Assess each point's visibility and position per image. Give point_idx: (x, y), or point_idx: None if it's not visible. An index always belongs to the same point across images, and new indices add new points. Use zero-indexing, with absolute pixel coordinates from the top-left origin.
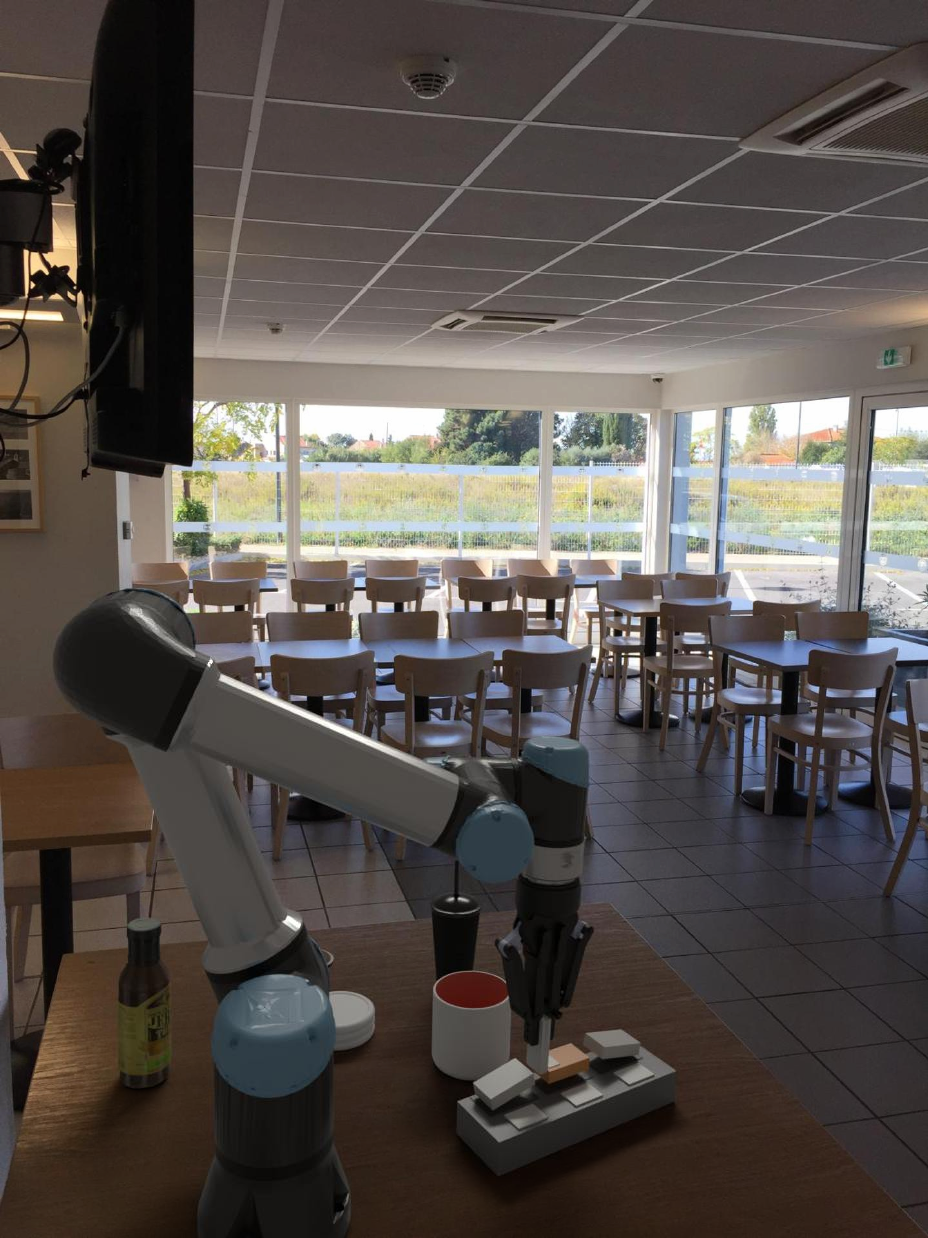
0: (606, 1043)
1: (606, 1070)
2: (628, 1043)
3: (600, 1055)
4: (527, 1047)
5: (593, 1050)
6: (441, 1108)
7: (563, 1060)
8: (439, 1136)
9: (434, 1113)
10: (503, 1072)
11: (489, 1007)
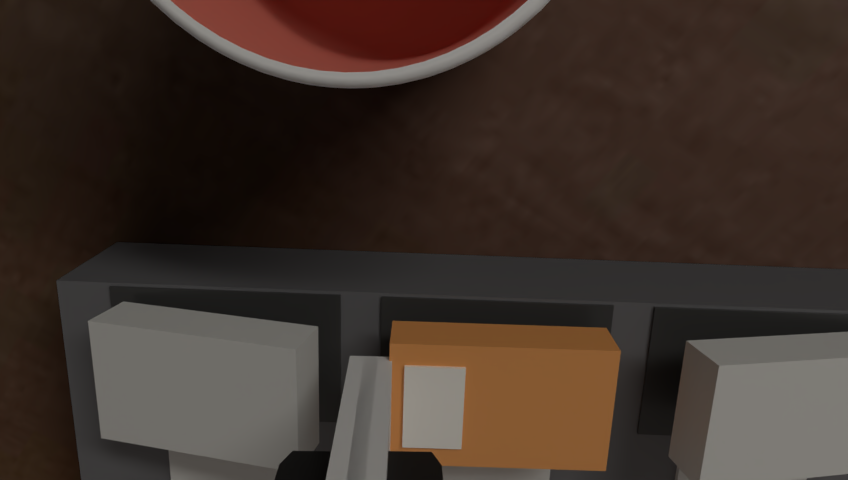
0: (735, 461)
1: (671, 432)
2: (835, 469)
3: (675, 450)
4: (342, 396)
5: (682, 407)
6: (134, 98)
7: (495, 434)
8: (62, 221)
9: (99, 109)
10: (211, 373)
11: (307, 78)
